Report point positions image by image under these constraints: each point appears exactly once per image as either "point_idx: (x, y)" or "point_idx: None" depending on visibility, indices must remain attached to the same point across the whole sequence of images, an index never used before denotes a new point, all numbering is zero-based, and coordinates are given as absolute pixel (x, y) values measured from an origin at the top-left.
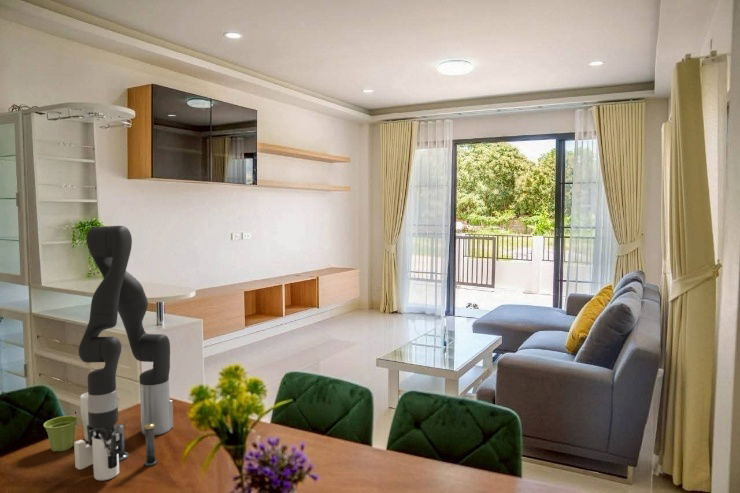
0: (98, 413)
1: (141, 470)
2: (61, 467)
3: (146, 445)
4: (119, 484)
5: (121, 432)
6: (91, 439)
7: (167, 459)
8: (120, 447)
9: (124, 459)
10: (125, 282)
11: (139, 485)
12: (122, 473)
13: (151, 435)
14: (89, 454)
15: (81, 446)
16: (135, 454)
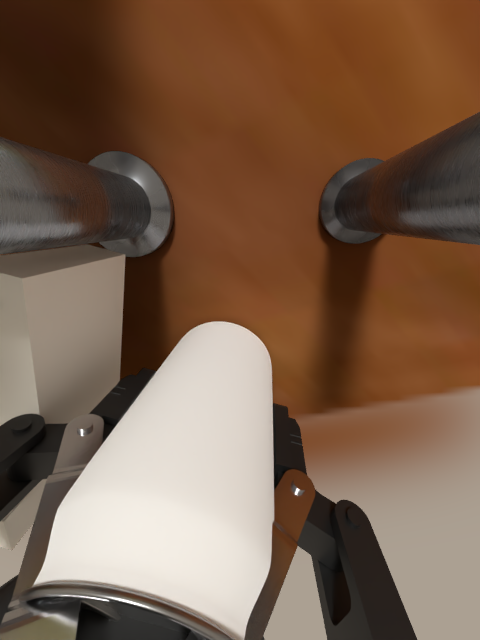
0: None
1: (349, 286)
2: None
3: (409, 236)
4: (329, 401)
5: (1, 204)
6: (7, 505)
7: (442, 108)
8: (382, 575)
9: (173, 219)
10: None
11: (423, 391)
12: (275, 333)
13: None
14: (84, 411)
15: (33, 511)
16: (176, 134)
